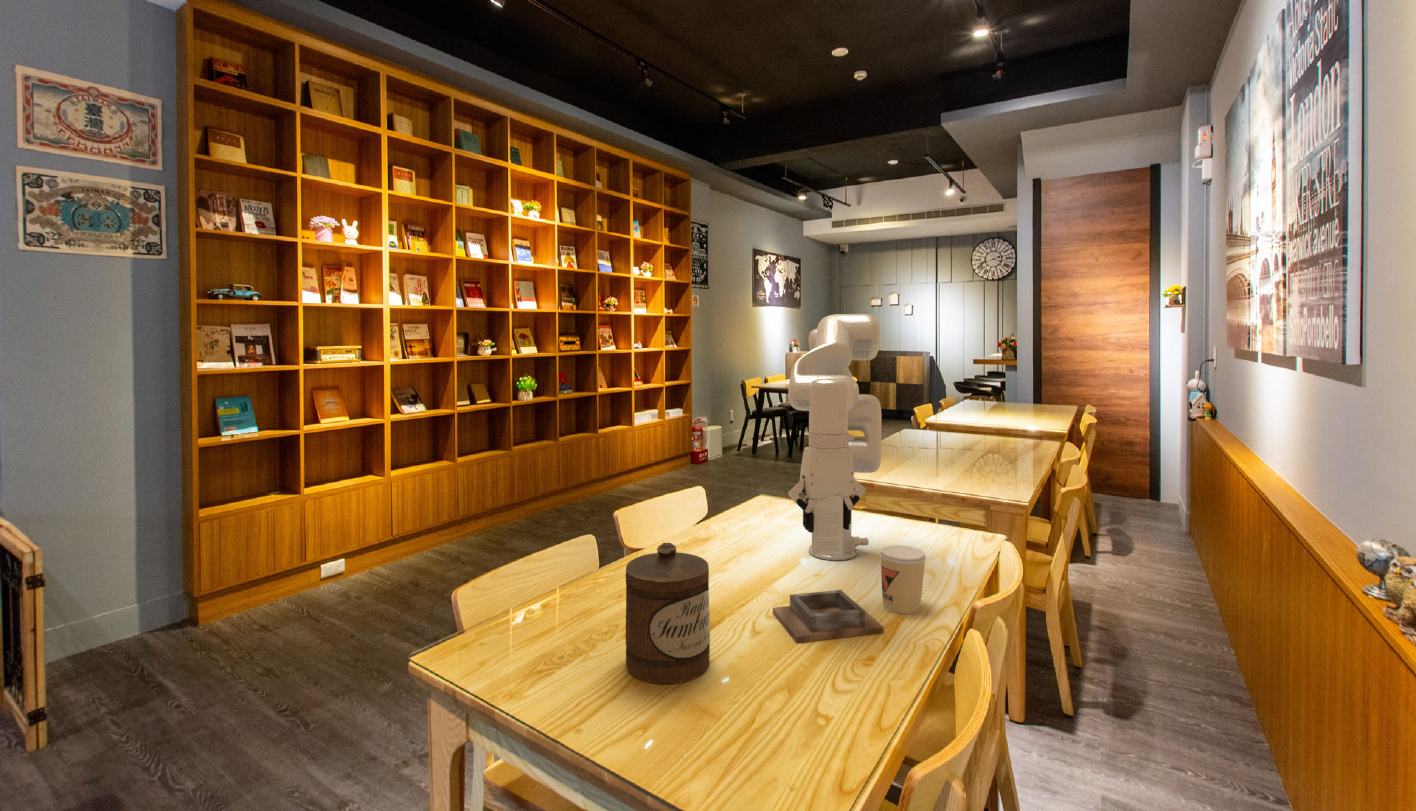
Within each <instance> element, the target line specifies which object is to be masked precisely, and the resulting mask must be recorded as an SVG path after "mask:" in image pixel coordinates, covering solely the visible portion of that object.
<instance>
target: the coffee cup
mask: <svg viewBox="0 0 1416 811" xmlns="http://www.w3.org/2000/svg"><path fill="white" fill-rule="evenodd" d="M879 557H880V574H881V576H880V577H881V596H882V597H881V598H882V605H883V607H884V609H886V610H888V611H890V612H894V613H899V614H913V613H917V612H918V611H920V609H921V603H922V593H923V585H924V577H925V576H924V575H925V564H926V560H927V559H926V555H925V552H924V551H923V550H921V549H920V548H916V547H912V546H907V545H888V546H885V547H883V548H882V549H881V551H880V552H879Z"/></svg>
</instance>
